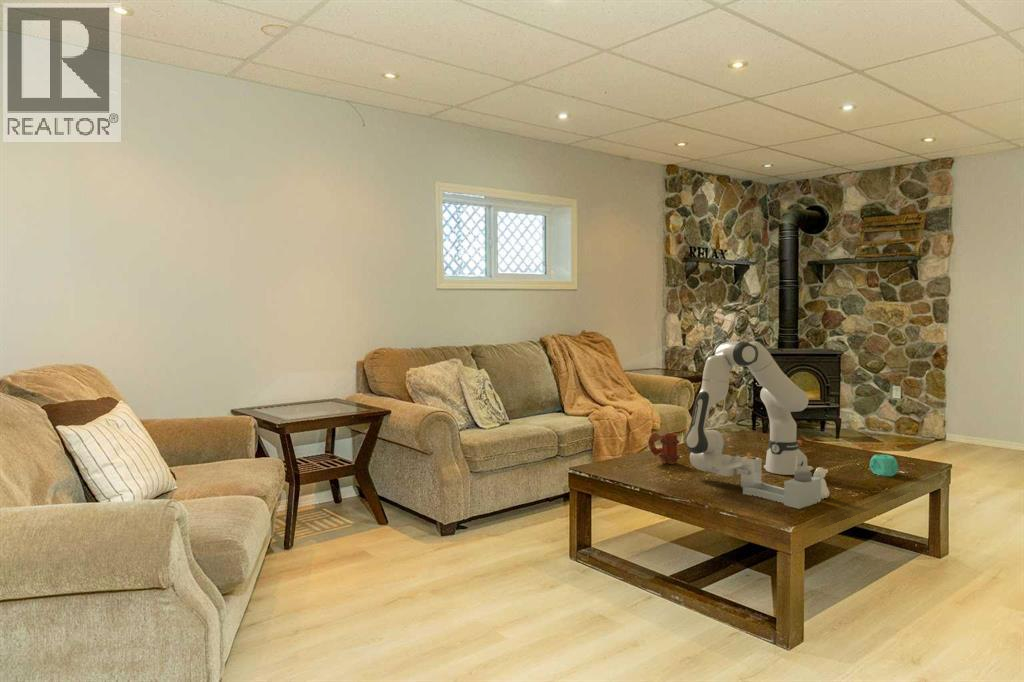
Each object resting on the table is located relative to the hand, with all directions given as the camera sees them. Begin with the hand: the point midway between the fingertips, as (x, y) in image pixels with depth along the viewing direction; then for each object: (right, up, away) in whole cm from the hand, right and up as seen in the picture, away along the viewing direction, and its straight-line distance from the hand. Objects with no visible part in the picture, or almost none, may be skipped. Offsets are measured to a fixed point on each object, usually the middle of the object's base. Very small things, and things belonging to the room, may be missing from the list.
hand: (753, 471), depth 274 cm
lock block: (-1, -6, +1) cm, 7 cm away
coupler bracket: (+7, -8, -9) cm, 14 cm away
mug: (-25, -6, +49) cm, 55 cm away
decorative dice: (+66, -6, +25) cm, 71 cm away
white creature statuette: (+23, -8, -8) cm, 25 cm away
